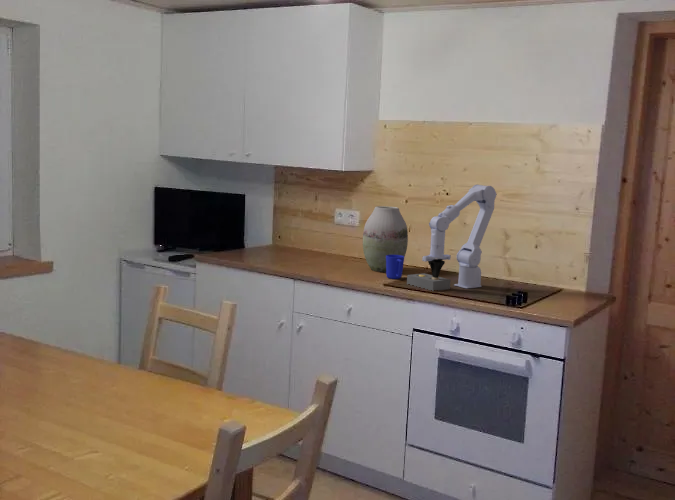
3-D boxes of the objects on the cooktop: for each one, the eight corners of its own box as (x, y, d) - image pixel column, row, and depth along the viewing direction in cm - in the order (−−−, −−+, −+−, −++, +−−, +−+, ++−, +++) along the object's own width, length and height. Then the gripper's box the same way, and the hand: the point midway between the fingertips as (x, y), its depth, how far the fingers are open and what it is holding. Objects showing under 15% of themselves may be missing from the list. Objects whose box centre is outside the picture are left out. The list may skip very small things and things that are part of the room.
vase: (395, 266, 360) (398, 205, 355) (413, 273, 340) (417, 209, 335) (354, 266, 353) (357, 204, 349) (370, 274, 333) (374, 209, 329)
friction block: (423, 282, 318) (424, 273, 318) (450, 289, 306) (450, 279, 305) (406, 284, 312) (407, 275, 312) (432, 291, 300) (433, 281, 299)
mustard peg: (421, 283, 314) (422, 274, 314) (426, 284, 312) (427, 275, 311) (416, 284, 313) (417, 275, 312) (421, 285, 310) (422, 276, 310)
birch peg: (434, 285, 308) (435, 276, 307) (439, 286, 306) (440, 277, 305) (429, 286, 306) (430, 276, 306) (434, 287, 304) (435, 278, 303)
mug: (391, 281, 318) (392, 258, 316) (382, 276, 329) (383, 254, 328) (408, 281, 320) (410, 258, 318) (399, 276, 331) (400, 254, 330)
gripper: (443, 243, 311) (441, 274, 313) (418, 244, 302) (416, 276, 304) (455, 245, 305) (452, 277, 307) (429, 247, 297) (427, 279, 299)
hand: (435, 277), depth 305 cm, fingers closed, pressing on birch peg
